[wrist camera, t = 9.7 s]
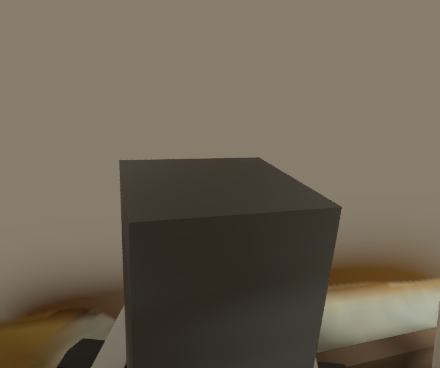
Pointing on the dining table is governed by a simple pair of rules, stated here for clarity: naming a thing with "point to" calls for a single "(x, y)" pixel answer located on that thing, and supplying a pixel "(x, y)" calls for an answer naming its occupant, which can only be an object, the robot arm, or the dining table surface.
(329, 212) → the sliding frame
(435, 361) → the foam cup
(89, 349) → the robot arm
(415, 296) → the dining table surface
